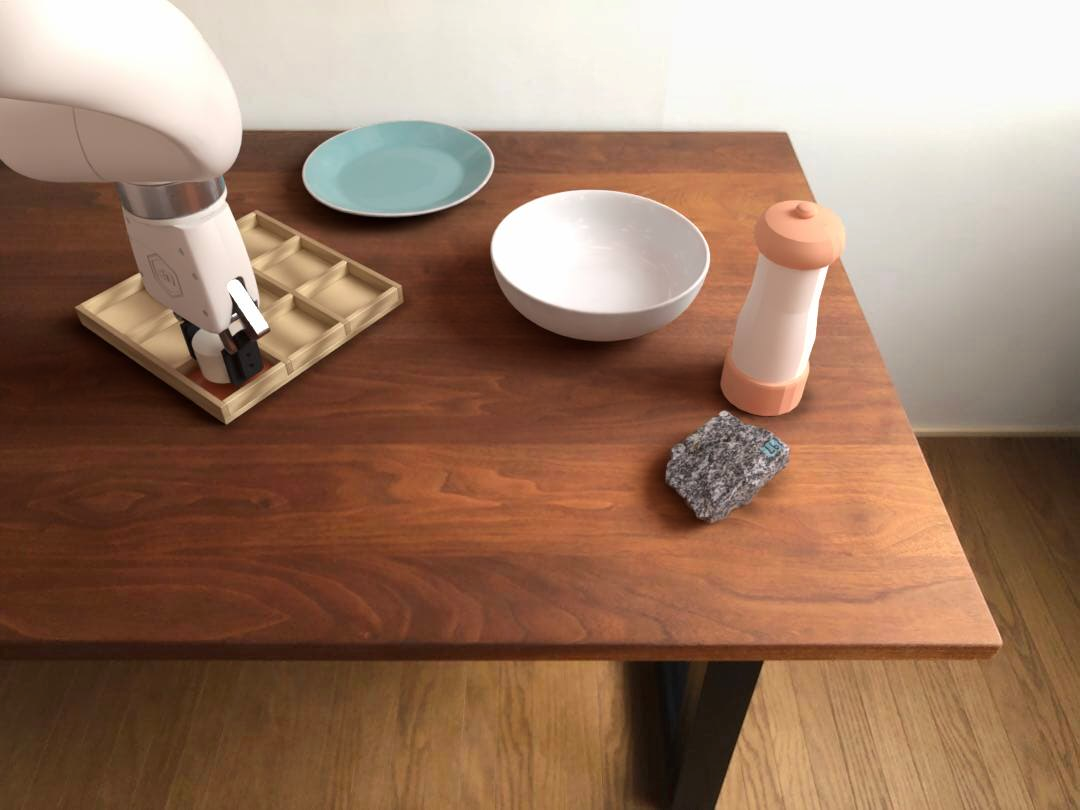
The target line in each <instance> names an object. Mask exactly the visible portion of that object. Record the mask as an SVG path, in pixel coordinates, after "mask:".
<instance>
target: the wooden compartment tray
mask: <svg viewBox="0 0 1080 810" xmlns="http://www.w3.org/2000/svg"><path fill="white" fill-rule="evenodd" d="M235 222H236V224H237V227H238V229H239V232H240V234H241V237H242V240H243V242H244V245H245V248H246V251H247V254H248V257H249V260H250V263H251V266H252V269H253V273H254V276H255V280H256V284H257V288H258V293H259V300H260V304H259V308H258V310H259V312H260V313H261V315H262V316H263V318H264V320H265V321H266V323H267V324H268V326H269V327H270V332H269V333H268V334H266V335H264V336H263V337H261V338H260V339H258V340H257V343H258V347H259V351H260V354H261V358H262V361H263V365H264V368H263V370H262V371H261V372H259V373H258V374H256V375H255V376H253V377H252V378H250V379H249V380H247V381H246V382H244V383H243V384H241V385H240V386H238V387H236V386H234V385H233V384H231V383H214V382H211V381H209V380H207V379H206V378H205V377H204V376H203V375H202V373H201V370H200V367H199V364H198V361H197V360H195V359H193V358H192V357H191V356H190V353H189V350H188V347H187V345H186V342H185V339H184V336H183V333H182V330H181V327H180V324H181V323H183V322H184V321H182V322H179V321H178V320H177V319H176V318H175V316H174V314H173V311H172V310H170V309H169V308H167V307H166V306H164V305H163V304H161V303H160V302H158V301H157V300H156V299H154V298H153V297H152V296H151V295H150V294H149V293H148V292H147V290H146V289H145V286H144V284H143V281H142V278H141V275H140V272H138V273H136V274H134V275H132V276H130V277H129V278H126V279H125V280H122V281H121V282H119V283H116V284H114V285H113V286H112V287H110V288H108V289H106V290H104V291H102V292H101V293H99V294H97V295H94V296H93V297H91V298H89V299H87V300H86V301H83V302H82V303H80V304H77V305H76V306H74V309H75V313H76V314H77V316H78V319H79V321H80V323H81V325H83V327H85V328H87V329H88V330H90V331H91V332H92V333H94V334H95V335H97V336H98V337H99V338H102V340H104V341H105V342H107V343H108V344H110V345H111V346H112V347H114V348H116V349H117V350H118V351H120V352H121V353H122V354H124V355H125V356H126V357H128V358H130V359H131V360H133V361H134V362H135V363H137V364H138V365H140V366H141V367H142V368H144V369H146V371H148V372H150V373H151V374H153V375H154V376H156V377H157V378H159V379H160V380H161V381H162V382H164V383H166V384H167V385H168V386H170V387H172V388H173V389H174V390H175V391H177V392H179V394H181V395H183V396H184V397H186V398H187V399H189V400H190V401H191V402H193V403H194V404H195V405H197V406H198V407H201V409H203V410H204V411H205V412H206V413H209V414H210V415H211V416H213V417H214V418H215V419H217V420H218V421H219V422H222V423H223V424H224V425H226V426H227V425H228V424H230V423H231V422H233V421H234V420H236V419H237V418H238V417H240V416H241V415H243V414H244V413H246V412H247V411H249V410H250V409H251V408H253V407H254V406H256V405H257V404H259V403H260V402H262V401H263V400H264V399H266V398H267V397H269V396H270V395H271V394H273V393H274V392H276V391H278V390H279V389H280V388H282V387H283V386H284V385H286V384H287V383H289V382H291V381H292V380H293V379H294V378H297V377H298V376H299V375H301V374H302V373H303V372H305V371H307V370H308V369H309V368H310V367H312V366H313V365H315V364H317V363H318V362H319V361H321V360H322V359H324V358H325V357H326V356H328V355H329V354H331V353H333V352H334V351H335V350H337V349H338V348H339V347H341V346H342V345H344V344H345V343H347V342H348V341H350V340H351V339H353V338H355V336H357V335H358V334H360V333H362V332H363V331H365V329H367V328H369V327H370V326H372V325H373V324H374V323H375V322H377V321H378V320H380V319H382V318H383V317H384V316H386V315H387V314H389V313H390V312H392V311H394V309H396V308H398V307H399V306H401V305H402V304H403V303H404V296H403V287H402V285H401V284H400V283H397V282H396V281H394V280H391V279H390V278H388V277H386V276H384V275H382V274H380V273H378V272H376V271H374V270H373V269H371V268H369V267H367V266H365V265H363V264H361V263H359V262H358V261H355V260H354V259H351V258H350V257H348V256H346V255H344V254H342V253H340V252H338V251H337V250H335V249H333V248H331V247H329V246H327V245H325V244H323V243H321V242H319V241H318V240H316V239H313V238H311V237H310V236H308V235H306V234H304V233H302V232H300V231H298V230H296V229H294V228H293V227H290V226H289V225H287V224H285V223H283V222H281V221H279V220H277V219H275V218H273V217H271V216H269V215H268V214H267V213H264V212H262V211H260V210H258V209H255V210H254V211H252V212H250V213H247V214H246V215H244V216H242V217H240V218H239V219H237V220H235ZM235 322H239V323H240V321H239V319H238V320H236V321H235Z"/></svg>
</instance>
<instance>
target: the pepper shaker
mask: <svg viewBox="0 0 1080 810" xmlns="http://www.w3.org/2000/svg"><path fill="white" fill-rule="evenodd" d="M846 233H847V232H846V227H845V225H844V224H843V221H842V220H841V218H840V217H839V215H838V214H836V213H835V212H834V211H833V210H831V208H828V207H826V206H824V205H822V204H819V203H816V202H813V201H807V200H799V199H796V200H795V199H794V200H793V199H792V200H784V201H779V202H776V203H774V204H773V205H771V206H769V207H768V208H767V209H766V210H765V211H763V212H762V214H760V216H759V218H758V219H757V220H756V223H755V224H754V228H753V237H754V238H753V239H754V242H755V245H756V246H757V249H758V251H759V253H758V258H757V262H756V266H755V271H754V274H753V280H752V282H751V283H752V284H751V287H750V288H749V291H748V294H747V296H746V299H745V301H744V303H743V305H742V307H741V310H740V312H739V314H738V317H737V319H736V324H735V325H736V326H735V330H734V336H733V341H732V343H731V344H730V346H729V347H728V348H727V350H726V354H725V359H724V364H723V368H722V373H721V377H720V389H721V392H722V394H723V396H724V397H725V398H726V399H727V401H728V402H729V403H730V404H732V405H733V406H735V407H736V408H737V409H739V410H741V411H743V412H746V413H749V414H751V415H755V416H762V417H774V416H781V415H784V414H787V413H790V412H791V411H792V410H794V409H795V408H796V407H798V405H799V403H800V401H801V399H802V397H803V394H804V391H805V387H806V383H807V380H808V377H809V375H810V361H809V358H810V355H811V353H812V348H813V346H814V344H815V341H816V335H817V325H818V324H817V323H818V313H819V301H820V298H821V294H822V291H823V287H824V284H825V280H826V277H827V273H828V269H829V267H830V265H831V264H833V263H834V262H835V261H836V260H838V259H839V257H840V256H841V255H842V253H843V251H844V250H845V248H846V247H847V234H846Z"/></svg>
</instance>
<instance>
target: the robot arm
mask: <svg viewBox="0 0 1080 810" xmlns="http://www.w3.org/2000/svg"><path fill="white" fill-rule="evenodd" d="M242 140H243V118H242V112H241V108H240V104H239V99H238V97H237V94H236V90H235V89H234V86H233V84H232V81H231V80H230V77H229V75H228V74H227V71H226V70H225V68H224V67H223V65H222V62H221V61H220V60H219V57H218V56H217V55H216V54H215V52H214V51H213V49H212V48H211V46H210V45H209V43H208V42H207V41H206V40H205V38H204V37H203V34H201V32H200V31H199V29H198V28H197V27H196V25H195V24H194V23H193V22H192V21H191V19H190V18H188V16H186V14H185V13H184V12H182V11H181V10H180V9H179V8H178V7H177V6H176V5H174V4H173V3H172V2H170V1H169V0H0V160H1V161H2V162H3V163H4V164H5V165H6V166H7V167H8V168H10V169H11V170H12V171H14V172H15V173H18V174H19V175H21V176H24V177H26V178H29V179H32V180H35V181H36V180H37V181H42V182H47V183H48V182H49V183H110V184H111V183H113V184H114V188H115V189H116V192H117V195H118V197H119V200H120V204H121V209H122V215H123V220H124V224H125V228H126V232H127V236H128V239H129V243H130V246H131V251H132V254H133V256H134V259H135V264H136V265H137V269H138V273H140V275H141V278H142V281H143V284H144V286H145V289H146V290H147V292H148V293H149V294H150V295H151V296H152V297H153V298H154V299H156V300H157V301H158V302H160V303H161V304H163V305H164V306H166V307H167V308H169V309H170V310H172V311H173V314H174V316H175V318H176V319H177V320H178V321H179V322H182V321H184V322H183V323H181V324H180V327H181V330H182V333H183V336H184V339H185V342H186V345H187V347H188V350H189V353H190V356H191V357H192V358H193V359H195V360H197V358H196V355H195V352H194V349H193V347H192V339H193V337H194V335H195V334H196V332H197V331H199V330H200V329H203V330H205V331H207V332H210V333H214V334H218V335H219V337H220V339H221V341H222V343H223V346H224V349H223V350H222V351H221V354H222V357H223V360H224V363H225V367H226V370H227V373H228V376H229V379H230V382H231V384H233V385H234V386H236V387H238V386H240V385H241V384H243V383H244V382H246V381H247V380H249V379H250V378H252V377H253V376H255V375H256V374H258V373H259V372H261V371H262V370H263V368H264V365H263V361H262V358H261V354H260V351H259V347H258V343H257V340H258V339H260V338H261V337H263V336H264V335H266V334H268V333H269V332H270V327H269V326H268V324H267V323H266V321H265V320H264V318H263V316H262V315H261V313H260V312H259V310H258V308H259V304H260V300H259V293H258V288H257V284H256V280H255V276H254V273H253V269H252V266H251V263H250V260H249V257H248V254H247V251H246V248H245V245H244V242H243V240H242V237H241V234H240V232H239V229H238V227H237V224H236V222H235V221H236V219H235V217H234V215H233V212H232V210H231V207H230V206H229V203H228V202H227V201H226V200H227V199H226V198H227V195H228V189H227V184H226V181H225V178H224V174H225V173H227V172H228V171H229V170H230V169H231V168H232V166H233V165H234V163H235V162H236V159H237V158H238V155H239V154H240V150H241V146H242ZM238 319H239V321H240V323H241V325H242V327H243V329H241V330H240V331H238V332H237V333H235V334H234V335H233V336H232V335H231V332H230V330H229V325H230V324H231V323H233V322H235V321H236V320H238Z"/></svg>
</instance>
